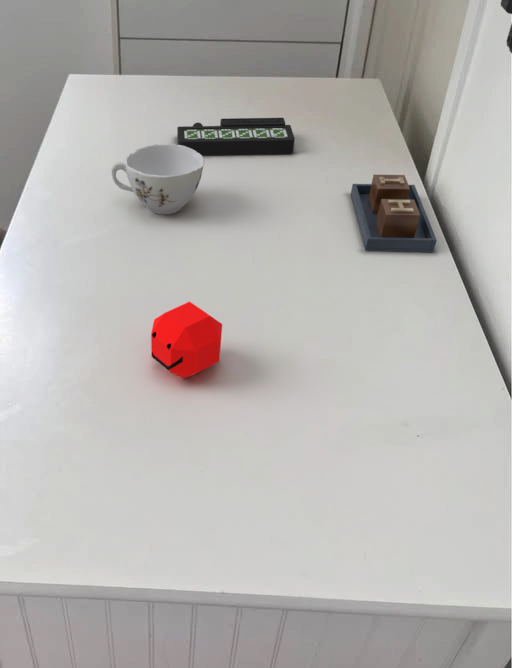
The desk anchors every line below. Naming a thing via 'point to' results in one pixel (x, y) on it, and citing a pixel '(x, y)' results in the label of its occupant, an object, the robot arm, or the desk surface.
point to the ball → (186, 340)
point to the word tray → (373, 242)
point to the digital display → (239, 137)
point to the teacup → (162, 176)
